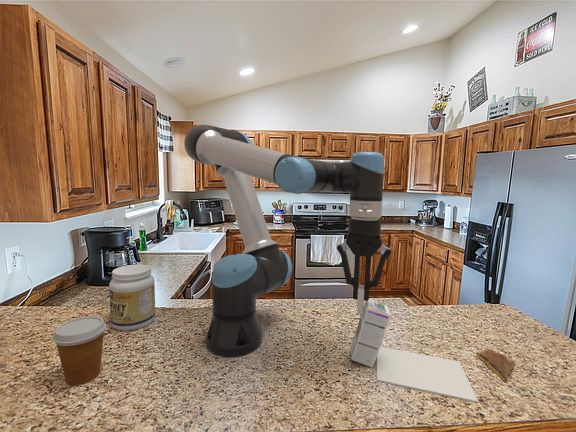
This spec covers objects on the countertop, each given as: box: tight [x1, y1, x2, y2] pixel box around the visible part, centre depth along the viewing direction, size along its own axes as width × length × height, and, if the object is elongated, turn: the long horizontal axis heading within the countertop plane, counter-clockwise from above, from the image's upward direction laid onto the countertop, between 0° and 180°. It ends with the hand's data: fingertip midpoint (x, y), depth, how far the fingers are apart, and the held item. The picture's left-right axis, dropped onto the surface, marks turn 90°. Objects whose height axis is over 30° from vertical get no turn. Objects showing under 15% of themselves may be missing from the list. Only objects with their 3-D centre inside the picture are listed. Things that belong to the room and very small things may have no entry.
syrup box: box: [350, 298, 391, 368], centre depth 71 cm, size 6×6×14 cm
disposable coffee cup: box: [52, 315, 107, 386], centre depth 63 cm, size 10×10×12 cm
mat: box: [376, 346, 479, 404], centre depth 69 cm, size 20×14×1 cm
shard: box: [476, 348, 516, 382], centre depth 72 cm, size 11×8×2 cm
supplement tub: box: [108, 263, 156, 332], centre depth 87 cm, size 12×12×17 cm
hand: (360, 311), depth 71 cm, fingers closed
